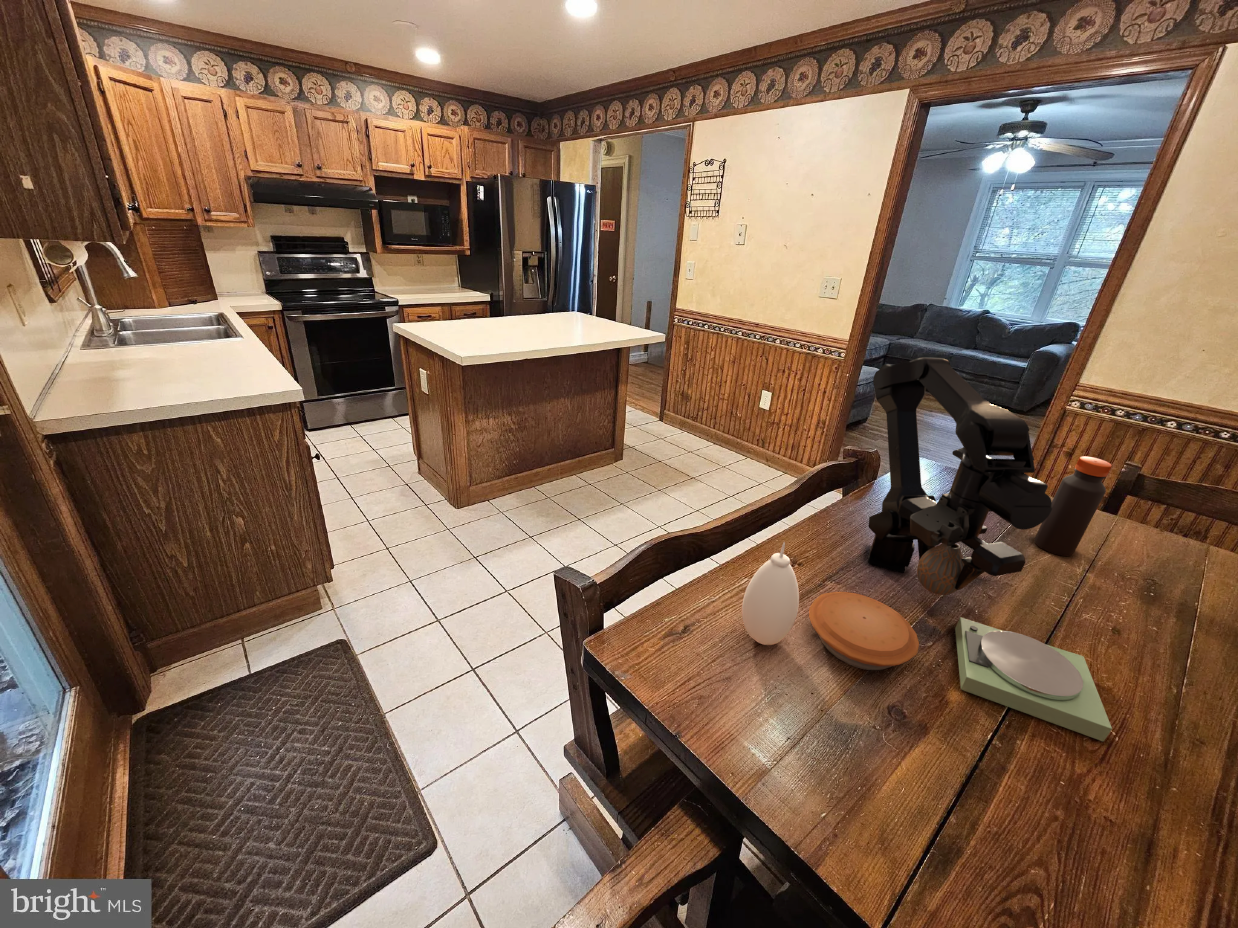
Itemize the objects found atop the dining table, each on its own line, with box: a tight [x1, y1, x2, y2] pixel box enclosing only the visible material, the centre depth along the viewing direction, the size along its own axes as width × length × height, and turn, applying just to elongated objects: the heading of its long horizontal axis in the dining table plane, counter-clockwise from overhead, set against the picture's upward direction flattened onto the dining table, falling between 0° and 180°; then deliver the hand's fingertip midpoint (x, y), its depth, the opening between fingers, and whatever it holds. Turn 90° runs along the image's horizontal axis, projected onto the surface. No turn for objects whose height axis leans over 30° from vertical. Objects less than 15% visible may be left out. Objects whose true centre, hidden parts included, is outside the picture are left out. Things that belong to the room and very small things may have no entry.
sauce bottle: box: [741, 541, 800, 646], centre depth 76 cm, size 8×8×18 cm
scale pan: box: [979, 630, 1083, 700], centre depth 74 cm, size 12×12×1 cm
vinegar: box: [1033, 456, 1113, 557], centre depth 104 cm, size 7×7×20 cm
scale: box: [954, 616, 1113, 742], centre depth 74 cm, size 16×14×3 cm
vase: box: [916, 543, 965, 596], centre depth 85 cm, size 7×7×9 cm
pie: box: [808, 591, 920, 671], centre depth 79 cm, size 15×16×5 cm
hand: (939, 575), depth 86 cm, fingers closed on vase, 7 cm apart
